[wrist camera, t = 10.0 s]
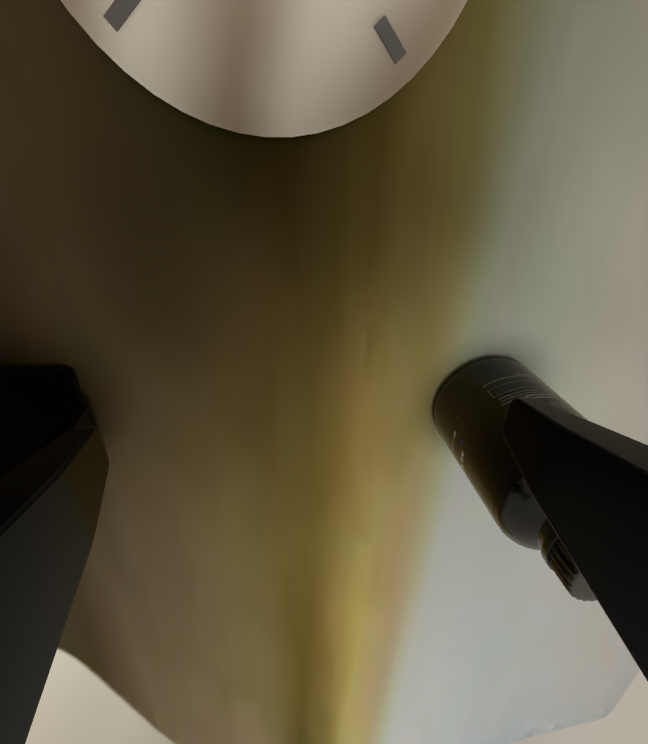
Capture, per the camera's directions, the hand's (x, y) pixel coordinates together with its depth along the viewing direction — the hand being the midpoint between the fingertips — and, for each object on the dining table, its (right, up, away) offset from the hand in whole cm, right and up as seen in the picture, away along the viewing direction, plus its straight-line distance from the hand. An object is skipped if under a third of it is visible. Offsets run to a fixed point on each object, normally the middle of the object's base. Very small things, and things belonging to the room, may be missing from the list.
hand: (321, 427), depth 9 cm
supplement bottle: (+10, -1, +18) cm, 21 cm away
